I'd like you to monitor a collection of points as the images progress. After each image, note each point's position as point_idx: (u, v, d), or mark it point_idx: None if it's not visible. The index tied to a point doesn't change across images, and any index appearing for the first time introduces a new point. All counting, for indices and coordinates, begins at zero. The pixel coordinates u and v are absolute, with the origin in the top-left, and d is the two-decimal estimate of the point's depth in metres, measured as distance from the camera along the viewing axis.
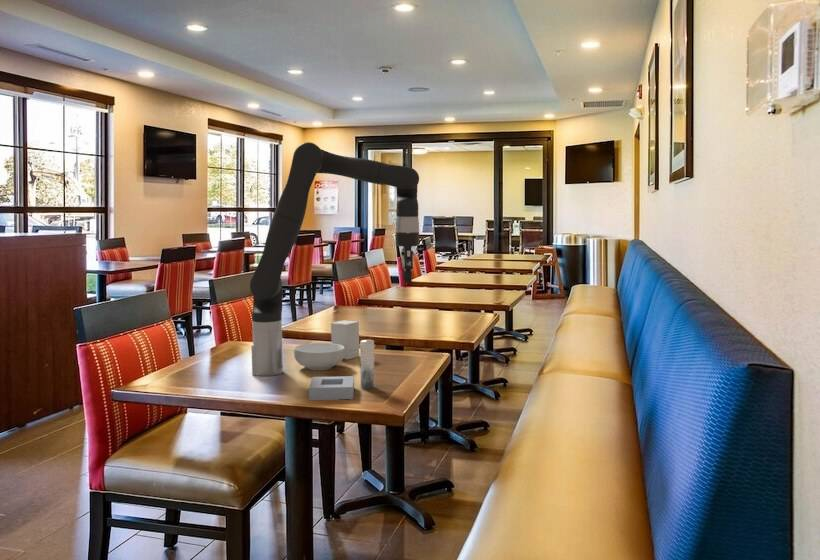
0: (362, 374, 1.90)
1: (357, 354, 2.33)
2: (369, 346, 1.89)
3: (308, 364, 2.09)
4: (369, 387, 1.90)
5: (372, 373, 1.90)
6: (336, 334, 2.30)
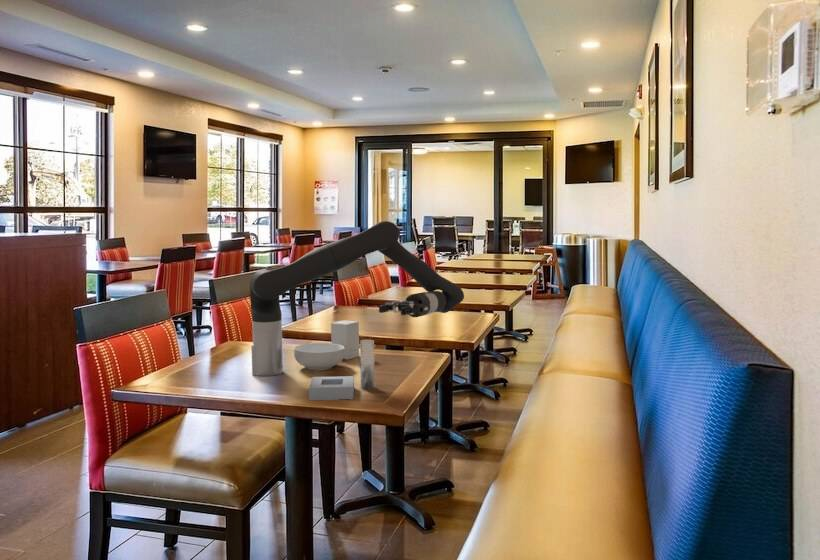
0: (362, 374, 1.90)
1: (357, 354, 2.33)
2: (369, 346, 1.89)
3: (308, 364, 2.09)
4: (369, 387, 1.90)
5: (372, 373, 1.90)
6: (336, 334, 2.30)
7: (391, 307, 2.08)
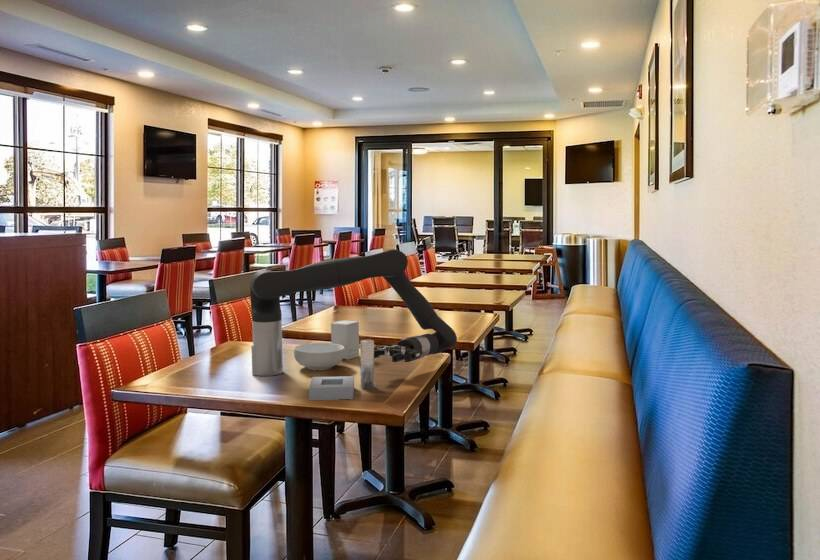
0: (362, 374, 1.90)
1: (357, 354, 2.33)
2: (369, 346, 1.89)
3: (308, 364, 2.09)
4: (369, 387, 1.90)
5: (372, 373, 1.90)
6: (336, 334, 2.30)
7: (383, 351, 2.06)
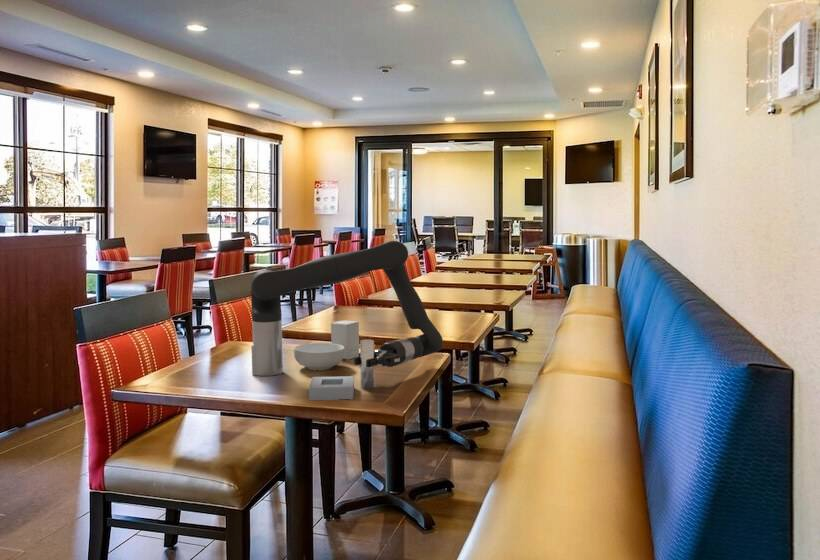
0: (362, 374, 1.90)
1: (357, 354, 2.33)
2: (369, 346, 1.89)
3: (308, 364, 2.09)
4: (369, 387, 1.90)
5: (372, 373, 1.90)
6: (336, 334, 2.30)
7: None
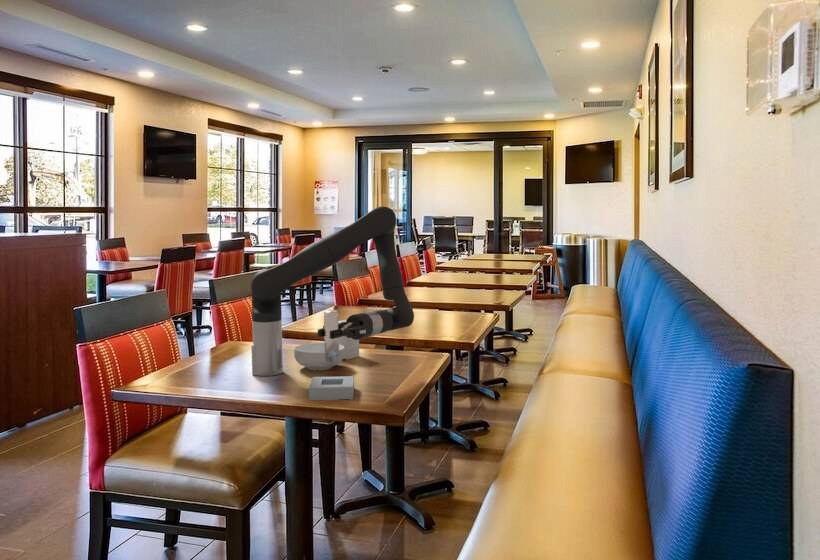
0: (326, 346, 1.83)
1: (357, 354, 2.33)
2: (332, 317, 1.81)
3: (308, 364, 2.09)
4: (333, 360, 1.83)
5: (336, 345, 1.83)
6: None
7: None
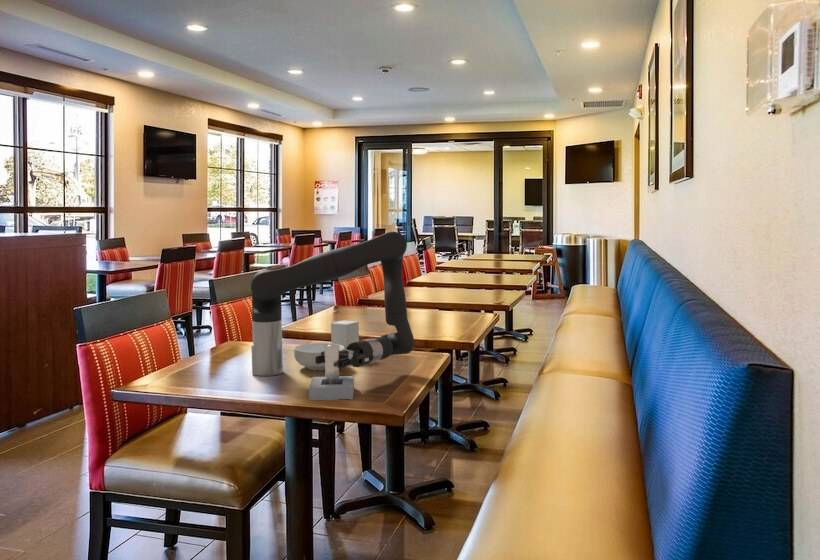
0: (326, 380, 1.84)
1: None
2: (333, 351, 1.82)
3: (308, 364, 2.09)
4: None
5: (337, 379, 1.84)
6: (336, 334, 2.30)
7: None
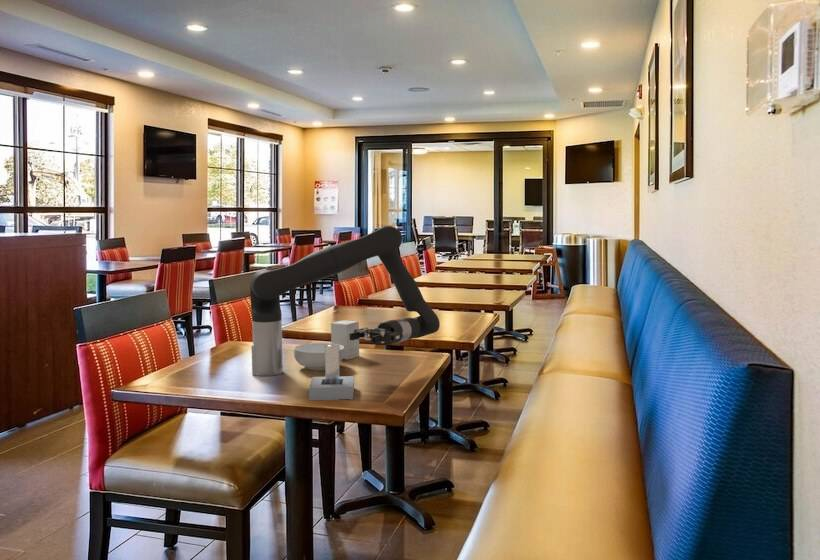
0: (327, 380, 1.84)
1: (357, 354, 2.33)
2: (333, 351, 1.82)
3: (308, 364, 2.09)
4: None
5: (337, 379, 1.84)
6: (336, 334, 2.30)
7: (363, 334, 2.05)
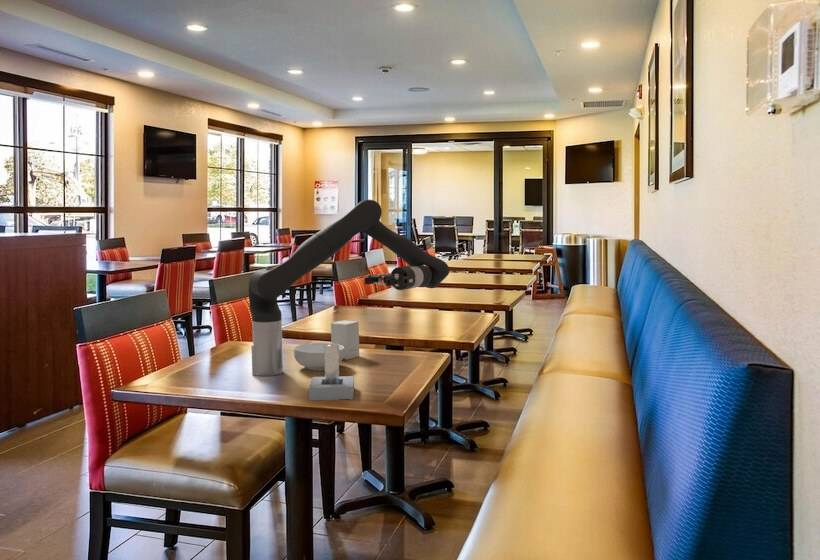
0: (326, 380, 1.84)
1: (357, 354, 2.33)
2: (333, 351, 1.82)
3: (308, 364, 2.09)
4: None
5: (337, 379, 1.84)
6: (336, 334, 2.30)
7: (377, 280, 2.11)
